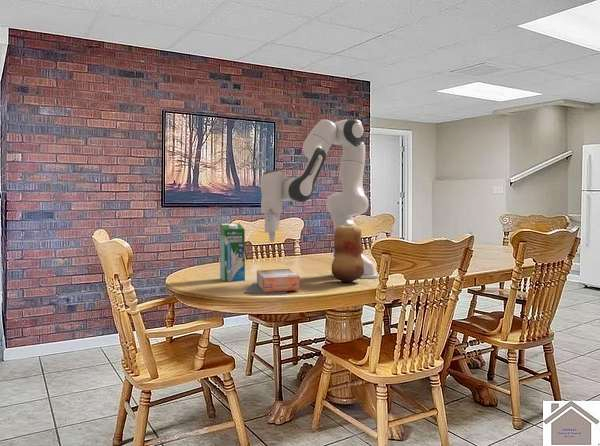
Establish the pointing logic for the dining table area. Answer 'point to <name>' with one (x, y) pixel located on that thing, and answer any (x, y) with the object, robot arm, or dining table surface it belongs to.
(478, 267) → the dining table surface
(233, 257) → the milk carton
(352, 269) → the butternut squash
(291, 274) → the cracker box
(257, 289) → the mat
